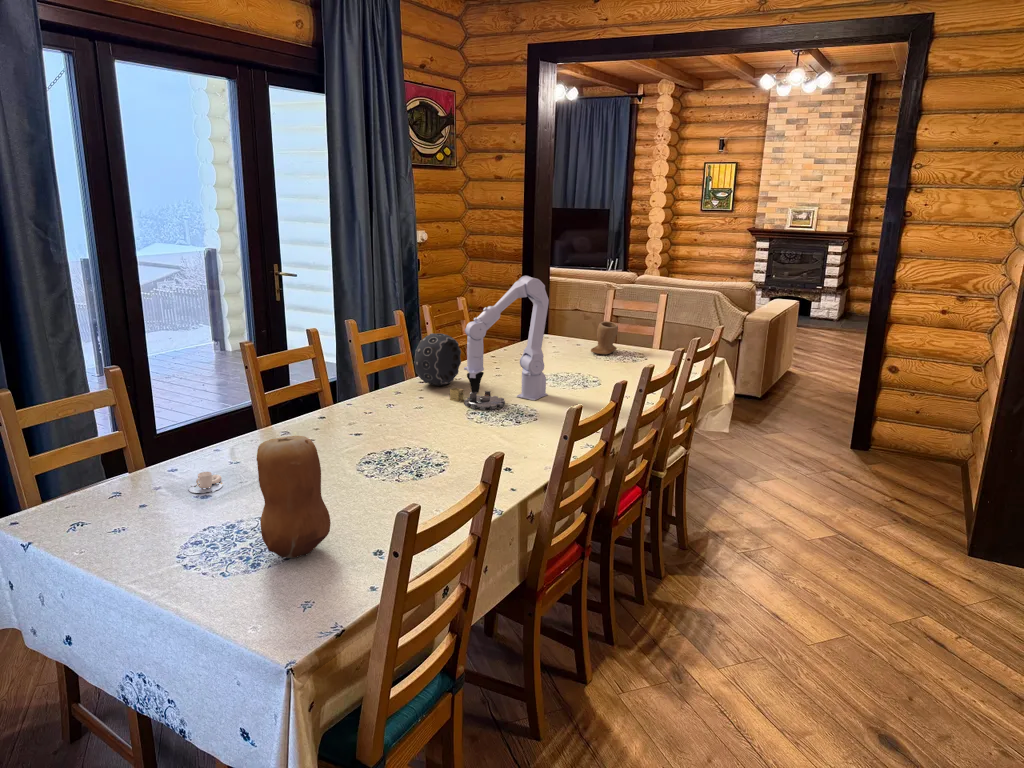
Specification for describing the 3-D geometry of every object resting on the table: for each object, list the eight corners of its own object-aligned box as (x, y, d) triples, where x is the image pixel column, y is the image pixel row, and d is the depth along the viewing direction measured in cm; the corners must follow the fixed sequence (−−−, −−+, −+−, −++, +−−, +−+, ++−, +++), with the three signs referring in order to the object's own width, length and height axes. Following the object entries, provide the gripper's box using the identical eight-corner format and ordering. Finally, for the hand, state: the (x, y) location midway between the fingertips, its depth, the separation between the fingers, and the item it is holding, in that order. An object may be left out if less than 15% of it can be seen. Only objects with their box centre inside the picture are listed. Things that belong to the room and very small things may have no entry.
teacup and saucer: (216, 479, 178) (214, 464, 177) (232, 487, 173) (231, 472, 172) (182, 489, 172) (180, 474, 171) (198, 498, 167) (196, 483, 166)
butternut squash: (288, 533, 150) (280, 423, 143) (343, 542, 146) (338, 431, 140) (247, 564, 137) (236, 445, 131) (306, 575, 133) (298, 454, 127)
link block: (450, 400, 250) (449, 389, 249) (455, 398, 252) (455, 387, 251) (458, 402, 248) (458, 391, 247) (463, 400, 250) (463, 389, 249)
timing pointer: (490, 398, 253) (490, 391, 252) (484, 398, 253) (484, 391, 252) (490, 397, 254) (490, 391, 253) (485, 397, 254) (485, 391, 253)
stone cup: (610, 357, 321) (612, 325, 317) (587, 354, 327) (588, 322, 323) (623, 351, 334) (624, 321, 330) (600, 348, 340) (601, 318, 336)
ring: (412, 388, 264) (411, 336, 259) (440, 377, 281) (440, 328, 276) (435, 392, 259) (435, 340, 254) (463, 380, 276) (463, 331, 271)
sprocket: (458, 400, 248) (458, 388, 247) (494, 396, 254) (494, 383, 253) (474, 411, 236) (474, 398, 234) (512, 406, 242) (512, 393, 241)
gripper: (467, 350, 251) (467, 386, 255) (460, 360, 237) (461, 397, 241) (486, 351, 251) (486, 387, 254) (481, 360, 237) (481, 398, 240)
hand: (475, 392), depth 247 cm, fingers closed
